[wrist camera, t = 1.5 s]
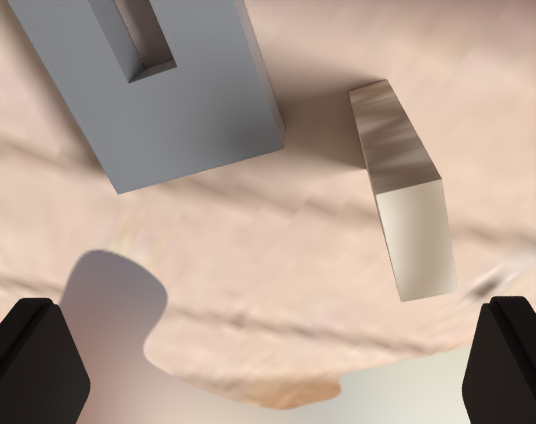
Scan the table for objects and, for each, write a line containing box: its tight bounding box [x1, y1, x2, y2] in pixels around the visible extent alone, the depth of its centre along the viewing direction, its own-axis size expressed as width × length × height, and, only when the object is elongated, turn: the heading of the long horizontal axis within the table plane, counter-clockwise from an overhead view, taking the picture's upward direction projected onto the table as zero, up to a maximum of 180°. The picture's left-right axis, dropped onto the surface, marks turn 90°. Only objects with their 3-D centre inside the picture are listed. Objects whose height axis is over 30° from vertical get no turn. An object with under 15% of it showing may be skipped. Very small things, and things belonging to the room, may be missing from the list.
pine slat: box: [348, 80, 459, 302], centre depth 29 cm, size 3×7×16 cm, turn 18°
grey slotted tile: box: [7, 0, 286, 194], centre depth 30 cm, size 14×24×4 cm, turn 18°
